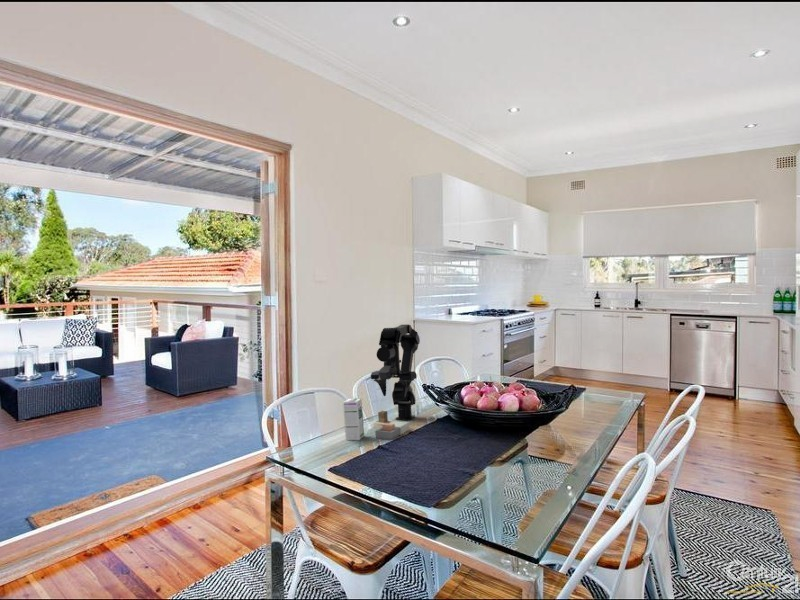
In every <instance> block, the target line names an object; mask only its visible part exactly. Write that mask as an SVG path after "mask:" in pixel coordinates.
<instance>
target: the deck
mask: <svg viewBox="0 0 800 600" xmlns="http://www.w3.org/2000/svg"><path fill="white" fill-rule="evenodd" d="M390 424H395V429H396V428H398V427H399V428H400V432H401V435H403V434H405V433H406V432H405V431H407V430H408V429H409V430H410V422H409V421H408V422H407V421H400V420H399V421H396V420H393V421H392V422H390ZM409 430H408V431H409ZM408 431H407V432H408ZM404 432H405V433H404ZM402 433H403V434H402Z"/></svg>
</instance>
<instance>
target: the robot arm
mask: <svg viewBox="0 0 800 600" xmlns="http://www.w3.org/2000/svg"><path fill="white" fill-rule="evenodd" d="M420 341H421V339H420V336H419V332H417V331H416V330H415V329H414V328H413V327H412V326H411V324H400V325H398V326H396V327H384V328H383V329H382V330H381V333H380V337H379V341H378V345H379V346H380V347H379V348H378V349H377V350H376V353H375V354H376V358H377V359H378V361H380V362H383V366H382V367H381V368H380V369H379V370H374V371H372V372H371V373H370V379H371V380H373V382H376V383H377V384H378V386H379V389H380V390H381V392H382V394H383V395H382V396H384V397H386V396H387V380H390V379H392V378H395V379H398V381H397V382H394V385H393V390H392V393H391V397H392V403H393V406H397V413H398V416H397V417H395V420H399V421H400V420H402V421H410V420H411V419H413V417H414V418H415V417H416V415H412V406H414V405H416V396H415V395H414V392H413V388H412V386H411V384H412V381H415V380H416V379H418V378H417V377H418V376H417V373H416V371H412V367H413V360H414V354H415V353H416V351H417V350H418V349H419V344H420V343H421V342H420ZM400 347H401V349H402V357H401V358H402V359H400ZM400 363H401V364H400Z"/></svg>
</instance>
